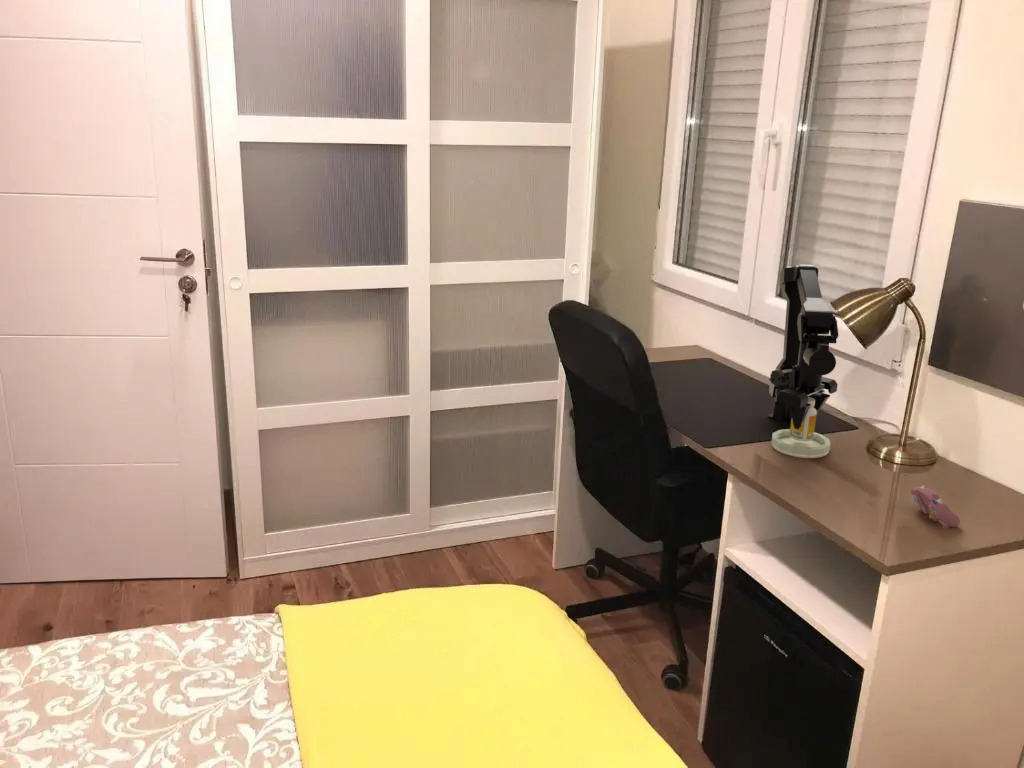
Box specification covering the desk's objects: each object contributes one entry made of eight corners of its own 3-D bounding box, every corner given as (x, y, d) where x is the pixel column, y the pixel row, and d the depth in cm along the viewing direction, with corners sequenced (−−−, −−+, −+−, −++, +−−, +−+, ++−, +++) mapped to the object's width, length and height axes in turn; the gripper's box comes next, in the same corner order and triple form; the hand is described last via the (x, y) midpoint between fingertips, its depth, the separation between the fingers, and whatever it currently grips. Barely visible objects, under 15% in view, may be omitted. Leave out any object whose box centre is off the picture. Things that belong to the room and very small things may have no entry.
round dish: (788, 433, 205) (789, 425, 204) (838, 448, 196) (840, 439, 196) (761, 446, 197) (762, 438, 196) (812, 462, 188) (813, 453, 187)
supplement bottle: (810, 434, 198) (815, 395, 195) (815, 442, 193) (821, 403, 190) (787, 432, 199) (791, 394, 196) (792, 441, 193) (797, 402, 190)
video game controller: (913, 512, 168) (903, 485, 166) (934, 503, 167) (924, 475, 165) (941, 536, 158) (931, 507, 156) (963, 526, 158) (953, 496, 156)
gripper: (798, 348, 202) (791, 408, 207) (758, 362, 189) (751, 425, 194) (842, 357, 194) (833, 419, 199) (803, 373, 182) (795, 439, 187)
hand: (802, 425), depth 195 cm, fingers closed on supplement bottle, 5 cm apart
